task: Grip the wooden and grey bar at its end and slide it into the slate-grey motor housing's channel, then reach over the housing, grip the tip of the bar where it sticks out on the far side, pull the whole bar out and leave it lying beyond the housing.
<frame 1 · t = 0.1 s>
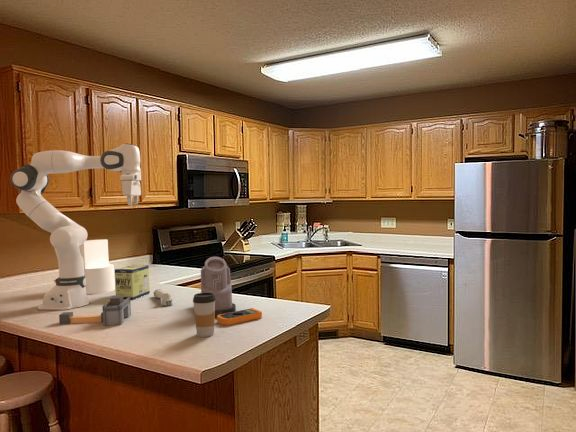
hand: (132, 205, 220), 48 cm above the countertop, tool pointing down, fingers open, 8 cm apart
multimeter: (239, 321, 185), on the countertop
protein box: (133, 296, 236), on the countertop
coffee cup: (205, 334, 168), on the countertop
cylinder: (98, 291, 253), on the countertop
juicer: (216, 310, 203), on the countertop
toothbrush head: (162, 302, 223), on the countertop
motor housing: (117, 320, 190), on the countertop
wooden and grey bar: (88, 321, 189), on the countertop
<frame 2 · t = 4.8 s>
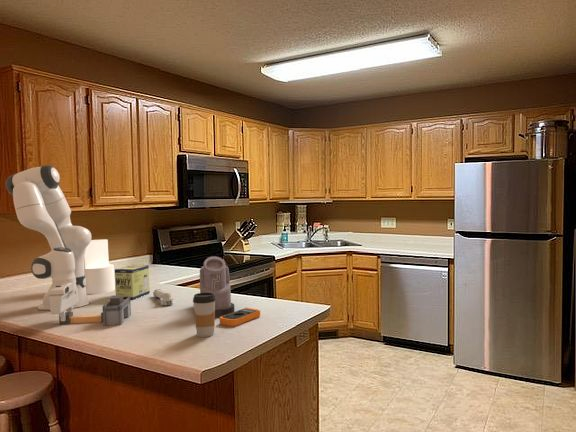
hand: (66, 319, 189), 2 cm above the countertop, tool pointing down, fingers closed on wooden and grey bar, 4 cm apart
wooden and grey bar: (88, 321, 189), on the countertop, touching gripper
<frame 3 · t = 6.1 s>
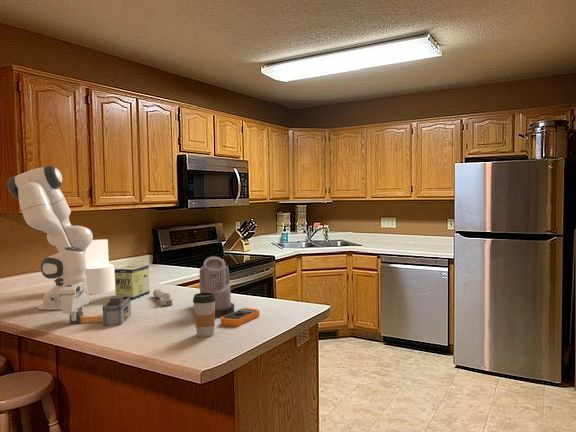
hand: (77, 318, 189), 2 cm above the countertop, tool pointing down, fingers closed on wooden and grey bar, 4 cm apart
wooden and grey bar: (98, 321, 190), on the countertop, touching gripper
when the fingers open (2 cm above the countertop, at t = 7.8 s): wooden and grey bar stays where it is, on the countertop.
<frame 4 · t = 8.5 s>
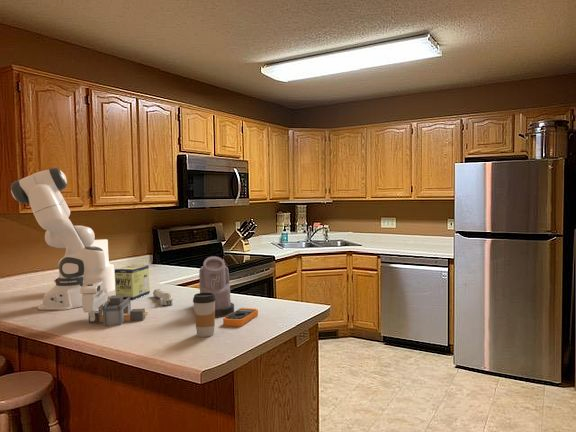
hand: (96, 317, 190), 2 cm above the countertop, tool pointing down, fingers open, 8 cm apart
wooden and grey bar: (117, 320, 190), on the countertop
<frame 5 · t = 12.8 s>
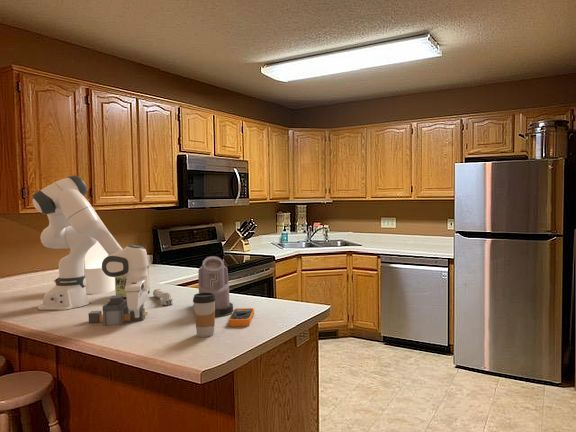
hand: (139, 315, 191), 2 cm above the countertop, tool pointing down, fingers closed on wooden and grey bar, 4 cm apart
wooden and grey bar: (117, 320, 190), on the countertop, touching gripper
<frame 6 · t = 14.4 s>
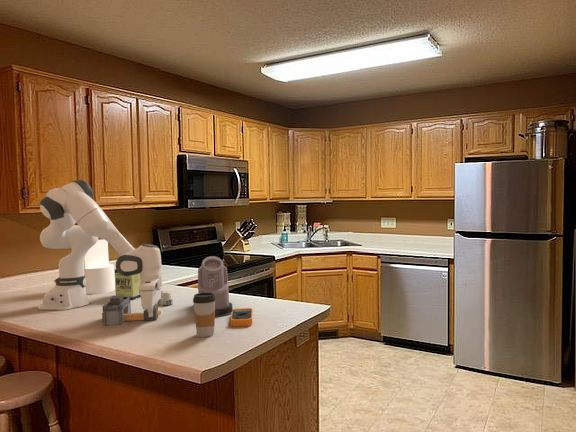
hand: (152, 314, 191), 2 cm above the countertop, tool pointing down, fingers closed on wooden and grey bar, 4 cm apart
wooden and grey bar: (130, 319, 190), on the countertop, touching gripper
when the fingers open (2 cm above the countertop, at t = 16.5 s): wooden and grey bar stays where it is, on the countertop.
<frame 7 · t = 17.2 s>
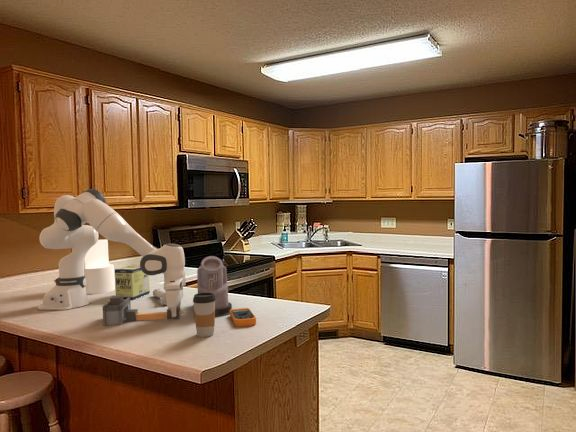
hand: (176, 313, 192), 2 cm above the countertop, tool pointing down, fingers open, 8 cm apart
wooden and grey bar: (153, 318, 191), on the countertop
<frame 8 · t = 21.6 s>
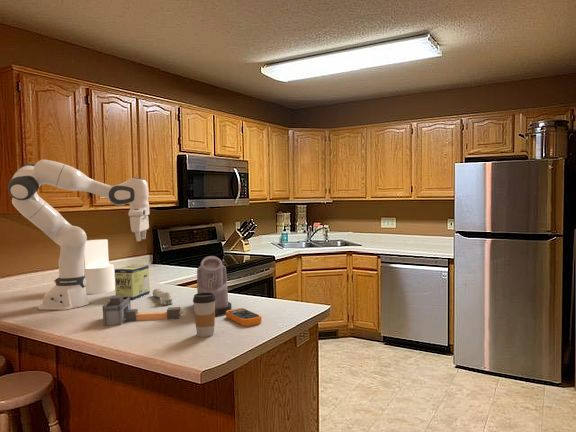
hand: (141, 240, 216), 31 cm above the countertop, tool pointing down, fingers open, 8 cm apart
at the end: wooden and grey bar inside the target area (7.0 cm from its centre), on the countertop; wooden and grey bar touching countertop; the gripper is holding nothing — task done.
